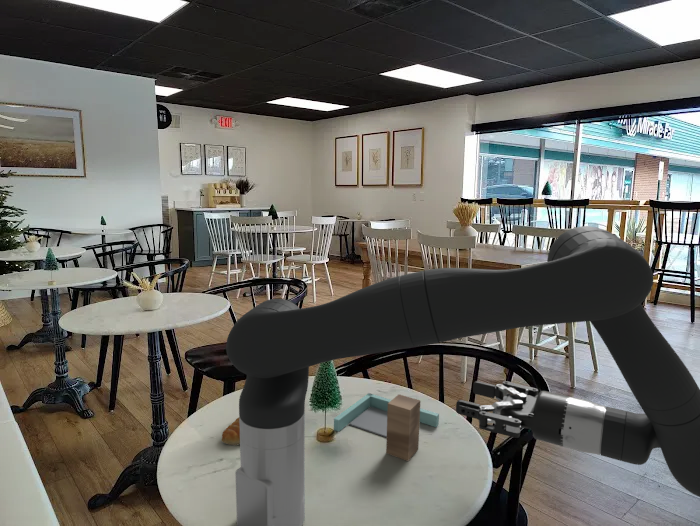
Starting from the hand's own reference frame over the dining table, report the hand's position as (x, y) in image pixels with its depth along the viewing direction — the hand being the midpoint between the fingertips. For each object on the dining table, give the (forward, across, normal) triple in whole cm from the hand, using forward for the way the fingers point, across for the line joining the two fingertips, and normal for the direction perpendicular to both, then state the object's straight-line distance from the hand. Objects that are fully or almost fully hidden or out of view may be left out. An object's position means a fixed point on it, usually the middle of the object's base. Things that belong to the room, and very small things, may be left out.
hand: (465, 396), depth 79 cm
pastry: (+40, +12, +14) cm, 44 cm away
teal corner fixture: (+18, -6, +14) cm, 23 cm away
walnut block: (+12, 0, +14) cm, 18 cm away
